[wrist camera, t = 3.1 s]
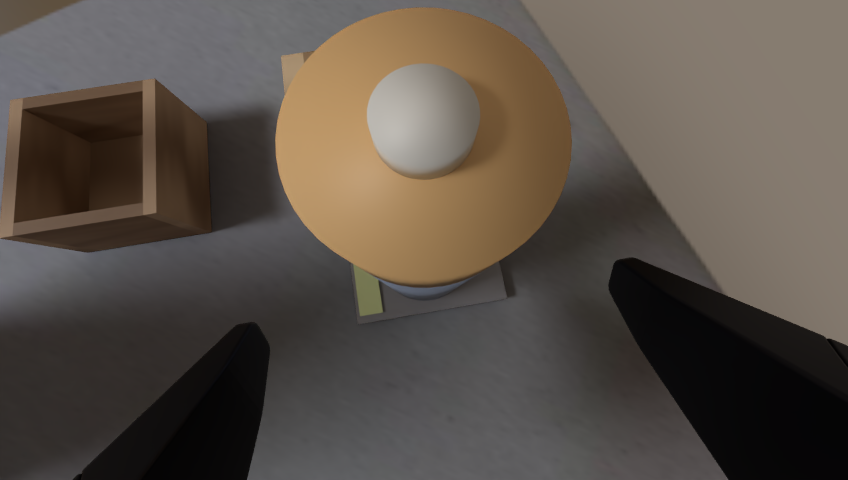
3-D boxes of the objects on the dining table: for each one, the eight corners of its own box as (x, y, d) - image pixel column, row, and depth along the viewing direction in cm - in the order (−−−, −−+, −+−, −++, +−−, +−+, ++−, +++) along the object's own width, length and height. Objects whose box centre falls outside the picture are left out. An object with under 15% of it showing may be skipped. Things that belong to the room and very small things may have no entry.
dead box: (211, 232, 19) (156, 212, 15) (87, 252, 19) (-2, 238, 15) (206, 122, 20) (154, 78, 17) (90, 140, 20) (10, 99, 16)
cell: (483, 254, 18) (652, 102, 5) (427, 319, 17) (437, 354, 4) (420, 200, 19) (413, -70, 5) (363, 260, 18) (191, 123, 5)
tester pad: (504, 298, 18) (508, 298, 18) (360, 323, 18) (357, 324, 17) (483, 199, 19) (485, 194, 19) (346, 221, 19) (343, 218, 18)
